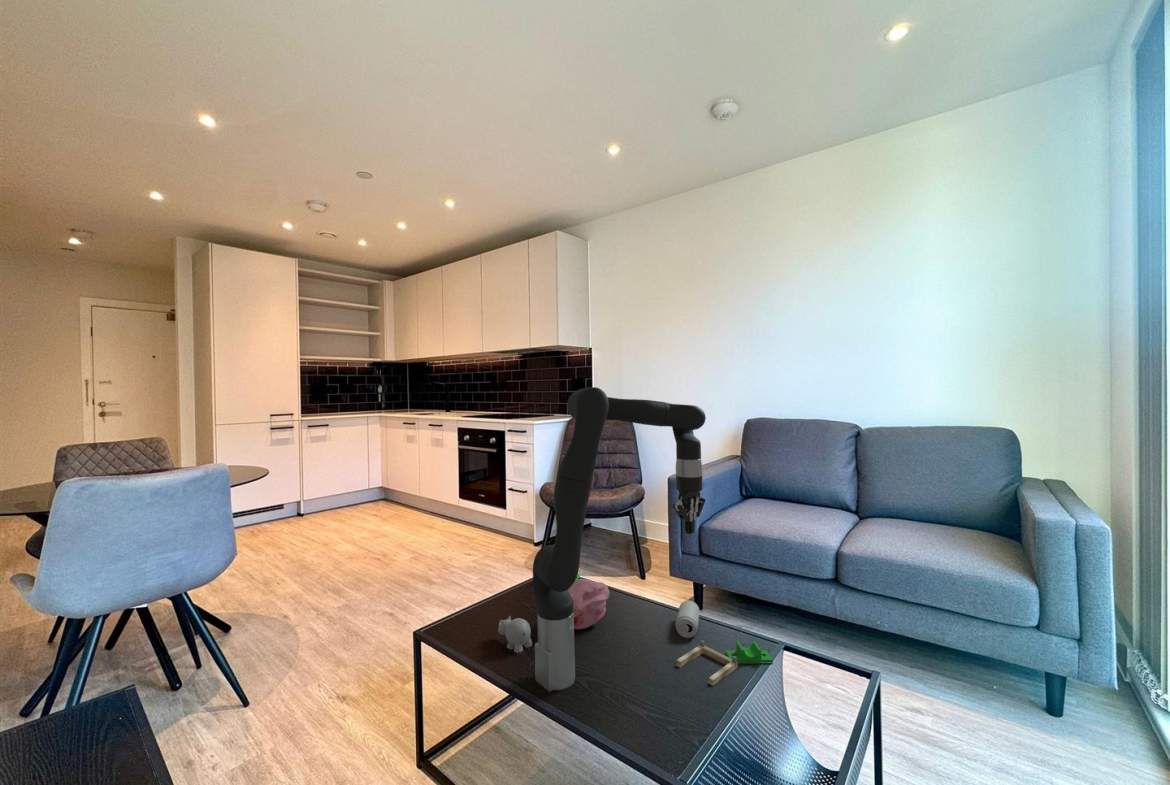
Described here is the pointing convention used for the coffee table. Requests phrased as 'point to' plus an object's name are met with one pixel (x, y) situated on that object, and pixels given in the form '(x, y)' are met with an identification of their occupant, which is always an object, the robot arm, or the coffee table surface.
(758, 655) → the pipe clamp
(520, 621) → the rhino figurine
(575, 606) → the decorative rock
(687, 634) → the beverage can
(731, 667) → the frame
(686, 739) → the coffee table surface
